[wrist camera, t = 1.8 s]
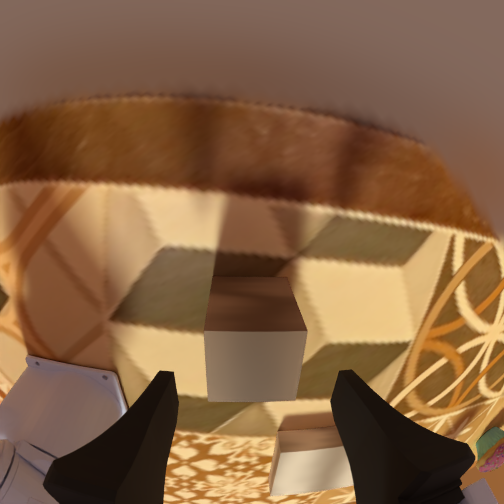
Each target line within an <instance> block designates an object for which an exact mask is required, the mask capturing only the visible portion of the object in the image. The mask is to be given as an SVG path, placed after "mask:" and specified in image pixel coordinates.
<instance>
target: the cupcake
mask: <svg viewBox="0 0 504 504" xmlns="http://www.w3.org/2000/svg"><path fill="white" fill-rule="evenodd" d="M476 448H477V453H478V462H477V463H476V466H477V468H478V470H479V471H480V472H487V471H491V470H494V469H496V468H498V467H499V466H501V465H502V464H503V463H504V431H503V430H501V429H499V428H498V427H493V428H492V429H490V430H489V431H487V432H486V433H485V434H484V435H483V436H482V437H481V438H480V439H479V440H478V441H477V443H476Z"/></svg>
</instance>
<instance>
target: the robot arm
mask: <svg viewBox="0 0 504 504" xmlns="http://www.w3.org/2000/svg"><path fill="white" fill-rule="evenodd" d="M26 362H27V364H28V367H27V368H26V369H25V371H24V372H23V373H22V375H21V376H20V377H19V379H18V380H17V382H16V383H15V384H14V386H13V387H12V388H11V390H10V391H9V393H8V394H7V395H6V397H5V398H4V400H3V401H2V403H1V404H0V504H163V498H164V485H165V474H166V467H167V461H168V457H169V453H170V448H171V444H172V440H173V436H174V432H175V428H176V423H177V415H178V406H179V401H178V395H177V389H176V383H175V377H174V372H171V371H159V372H158V373H157V374H156V376H155V377H154V379H153V380H152V381H151V383H150V384H149V386H148V387H147V388H146V389H145V391H144V392H143V393H142V394H141V396H140V397H139V398H138V399H137V400H136V402H135V403H134V404H133V405H132V406H131V407H130V408H129V409H128V408H127V405H126V402H125V399H124V396H123V393H122V390H121V387H120V383H119V380H118V377H117V375H116V374H115V373H114V372H112V371H106V370H100V369H94V368H88V367H82V366H77V365H71V364H66V363H61V362H57V361H52V360H47V359H43V358H39V357H35V356H31V355H28V356H27V357H26ZM104 375H105V376H104ZM106 376H107V377H106ZM330 402H331V407H332V412H333V417H334V421H335V424H336V427H337V430H338V432H339V435H340V438H341V441H342V444H343V446H344V449H345V452H346V455H347V458H348V461H349V464H350V469H351V474H352V479H353V484H354V490H355V496H356V504H498V502H497V500H496V498H495V496H494V495H493V493H492V491H491V489H490V487H489V485H488V484H487V482H486V480H485V478H482V479H480V480H478V481H477V482H475V483H473V484H471V485H470V486H468V487H466V488H464V489H463V490H462V491H461V489H460V487H459V486H460V485H462V482H461V480H460V477H461V476H462V475H463V474H464V473H465V472H466V471H467V470H468V469H469V468H470V467H471V466H472V464H473V463H474V461H475V455H474V454H473V452H472V450H471V449H470V447H469V445H468V444H467V443H463V442H460V441H456V440H453V439H449V438H447V437H444V436H442V435H439V434H437V433H434V432H432V431H430V430H428V429H426V428H424V427H422V426H420V425H418V424H417V423H415V422H413V421H412V420H410V419H409V418H407V417H405V416H404V415H402V414H401V413H400V412H398V411H397V410H396V409H394V408H393V407H392V406H391V405H389V404H388V403H387V402H386V401H385V400H383V399H382V398H381V397H380V396H379V395H378V394H377V393H376V392H374V391H373V390H372V389H371V388H370V387H369V386H368V385H367V384H366V383H365V382H364V381H363V380H362V379H361V378H360V377H359V376H358V375H357V374H356V373H355V372H354V371H353V370H341V371H339V373H338V377H337V380H336V384H335V387H334V391H333V394H332V397H331V401H330Z"/></svg>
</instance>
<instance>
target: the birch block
mask: <svg viewBox="0 0 504 504" xmlns="http://www.w3.org/2000/svg"><path fill="white" fill-rule="evenodd" d="M352 485H354V484H353V479H352V474H351V469H350V464H349V461H348V458H347V455H346V452H345V449H344V446H343V444H342V441H341V438H340V435H339V432H338V430H337V427H336V426H332V427H323V428H314V429H303V430H290V431H277V437H276V442H275V448H274V453H273V458H272V463H271V469H270V474H269V488H270V496H280V495H292V494H302V493H310V492H318V491H324V490H331V489H337V488H342V487H347V486H352Z"/></svg>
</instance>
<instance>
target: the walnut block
mask: <svg viewBox="0 0 504 504" xmlns="http://www.w3.org/2000/svg"><path fill="white" fill-rule="evenodd" d="M307 332H308V331H307V328H306V325H305V323H304V320H303V318H302V315H301V312H300V310H299V307H298V305H297V302H296V300H295V297H294V294H293V292H292V289H291V287H290V284H289V282H288V279H287V277H233V276H213V278H212V284H211V290H210V296H209V302H208V308H207V314H206V321H205V327H204V343H205V361H206V377H207V391H208V401H216V402H271V401H293V400H295V399H296V394H297V389H298V384H299V379H300V373H301V368H302V362H303V356H304V350H305V344H306V338H307Z"/></svg>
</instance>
